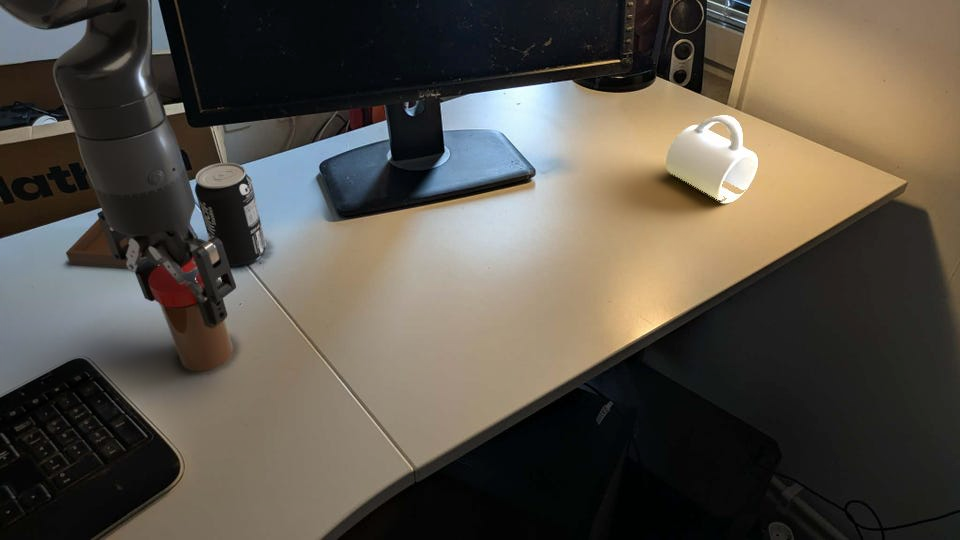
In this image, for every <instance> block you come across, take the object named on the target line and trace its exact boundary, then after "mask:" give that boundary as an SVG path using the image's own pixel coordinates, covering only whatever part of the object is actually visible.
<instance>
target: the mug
mask: <svg viewBox="0 0 960 540" xmlns="http://www.w3.org/2000/svg"><path fill="white" fill-rule="evenodd" d="M715 124H721V125H723V126H724V127H726V129H727V131H728V134H729V138H730V139H728V138H725V137H723V136H721V135H719V134H717V133H714V132H713V131H711V130H709V128H710V127H712V126H713V125H715ZM665 168H666V170H667V172H668V173H669V172H670V173H669V174H670V175H672V174H673V175H672V176H674V175H675V176H674V177H675V178H677V177H678V178H677V179H679V178H680V179H679V180H681V179H682V180H681V181H683V182H684V181H685V182H684V183H686V182H687V183H686V184H688V183H689V184H688V186H689V185H690V184H691V185H692V186H691V185H690V186H691V187H693V186H694V187H693V188H695V187H696V188H695V189H696V190H698V189H699V190H698V191H700V190H701V191H700V192H702V191H703V192H702V193H703V194H705V193H707V194H708V195H707V194H706V195H707V196H708V197H710V198H712V197H714V198H715V199H714V198H713V199H714V200H716V199H717V200H716V201H717V202H719V201H718V200H722V199H724V197H725V198H727V199H726V200H725V201H723V202H720V203H721V204H730V203H732V202H734V201H736V200H737V199H738V198H740V197H741V196H742V195H743V193H741V194H735V193H733V192H731V191H729V190H728V189H726V188H724V187H722V184H723V181H726V182H728V183H730V184H731V185H734V186H735V187H738V188H739V189H741V190H745V189H746V190H747V189H748V188H749V186H750V184H751V183H752V181H753V179H754V178H755V175H756V172H757V170H758V169H757V168H758V157H757V154H756V153H755V152H753V151H751V150H750V149H747V148H745V147H744V146H743V131H742V127H741V125H740V123H739V122H738V121H737V120H736V119H735V118H734V117H732V116H730V115H727V114H726V115H724V114H723V115H722V114H721V115H715V116H712V117H709V118H707V119H705V120H703V121H702V122H700V123H698V125H697V124H694V125H690V126H687V127H685V128H684V129H683V130H682V131H680V133H678V134H677V135H676V137H675V138H674V139H673V141H672V142H671V144H670V146H669V148H668V151H667V154H666V157H665ZM697 188H698V189H697ZM746 190H745V191H746ZM704 192H705V193H704ZM709 195H710V196H709ZM711 196H712V197H711ZM723 196H724V197H723Z"/></svg>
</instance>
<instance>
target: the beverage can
mask: <svg viewBox="0 0 960 540" xmlns="http://www.w3.org/2000/svg"><path fill="white" fill-rule="evenodd" d="M195 182H196V183H195V187H194V193H195V195H196V199H197V203H198V206H199V209H200V214H201V216H202V220H203V224H204V226H205V229H206V233H207V237H208V240H210V239H211V238H213V237H217V238H218V239H220V241H221V242H222V244H223V247H224V251H225V254H226V257H227V260H228V263H229V266H230V267H244V266H249V265H251V264H253V263H254V262H257V261H258V260H259V259H260V258H261V257H262V255H263V254H264V253H265V251H266V248H267V243H266V237H265V233H264V229H263V225H262V220H261V216H260V212H259V208H258V202H257V200H256V195H255V191H254V186H253V182H252V179H251V177H250V176H249V175H248V174H247V173H246V169H245V167H243V165H241V164H239V163H236V162H235V163H234V162H219V163H214V164H209V165H207V166H205V167H202V168H201V169H200V170H199V171H198V172H197V173H196V175H195Z"/></svg>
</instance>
